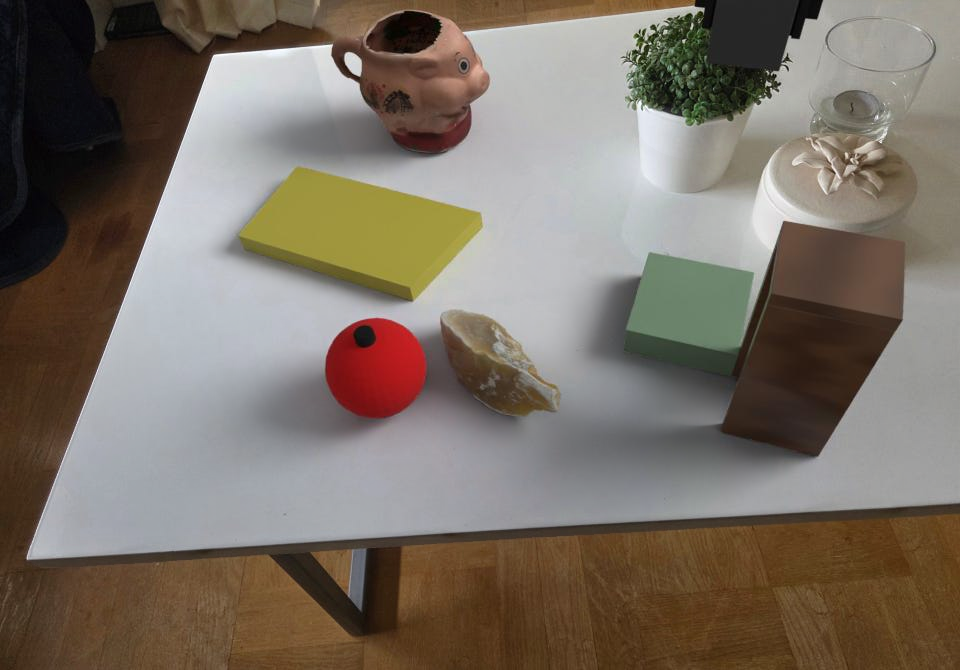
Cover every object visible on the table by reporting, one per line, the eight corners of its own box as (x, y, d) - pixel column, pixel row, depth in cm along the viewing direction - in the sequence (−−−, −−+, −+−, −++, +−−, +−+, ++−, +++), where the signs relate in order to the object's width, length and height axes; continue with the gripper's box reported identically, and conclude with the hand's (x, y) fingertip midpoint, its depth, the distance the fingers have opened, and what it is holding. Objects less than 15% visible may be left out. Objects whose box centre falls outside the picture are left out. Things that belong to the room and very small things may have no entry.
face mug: (328, 153, 91) (296, 52, 80) (364, 93, 98) (339, -7, 86) (482, 172, 86) (470, 67, 75) (508, 108, 93) (501, 4, 82)
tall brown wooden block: (825, 389, 65) (906, 241, 50) (818, 457, 61) (903, 319, 46) (732, 368, 67) (783, 220, 52) (720, 432, 63) (770, 293, 48)
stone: (455, 278, 68) (576, 363, 60) (477, 310, 73) (591, 392, 65) (404, 334, 67) (520, 429, 59) (430, 363, 72) (540, 453, 65)
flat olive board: (244, 249, 82) (434, 307, 75) (237, 235, 80) (431, 293, 73) (302, 179, 88) (482, 227, 81) (297, 165, 86) (481, 212, 79)
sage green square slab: (746, 295, 72) (754, 272, 69) (731, 377, 67) (738, 355, 64) (645, 274, 75) (649, 251, 72) (622, 351, 69) (625, 329, 67)
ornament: (444, 362, 70) (429, 297, 62) (417, 444, 65) (397, 384, 57) (357, 349, 72) (332, 283, 64) (324, 427, 67) (292, 367, 59)
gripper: (627, -349, 31) (605, 39, 46) (1082, -360, 27) (897, 74, 42) (663, -391, 35) (632, -22, 50) (1064, -407, 31) (901, 4, 46)
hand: (753, 19), depth 46 cm, fingers closed on block, 4 cm apart
